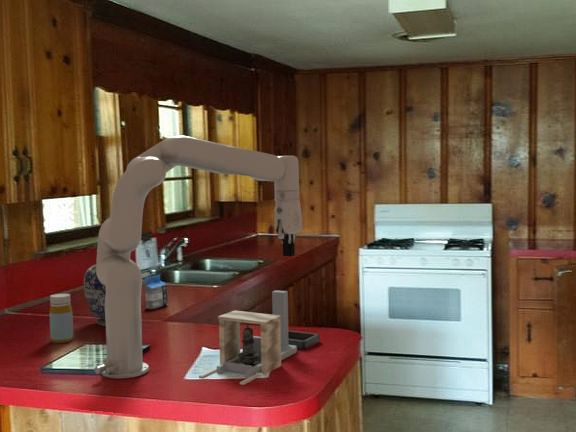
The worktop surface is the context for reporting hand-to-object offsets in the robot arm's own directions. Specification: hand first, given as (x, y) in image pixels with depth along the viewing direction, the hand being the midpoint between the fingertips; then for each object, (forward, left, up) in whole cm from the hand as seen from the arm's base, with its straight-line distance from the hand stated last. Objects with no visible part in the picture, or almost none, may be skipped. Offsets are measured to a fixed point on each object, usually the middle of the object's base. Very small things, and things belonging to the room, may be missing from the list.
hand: (288, 255), depth 210 cm
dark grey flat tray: (+2, -1, -28) cm, 28 cm away
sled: (-19, -1, -28) cm, 34 cm away
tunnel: (-24, -1, -28) cm, 37 cm away
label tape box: (+26, +75, -28) cm, 85 cm away
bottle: (-28, +69, -28) cm, 80 cm away
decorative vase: (-2, +72, -28) cm, 78 cm away
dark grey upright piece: (-25, -1, -28) cm, 38 cm away
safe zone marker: (-34, -1, -28) cm, 44 cm away
